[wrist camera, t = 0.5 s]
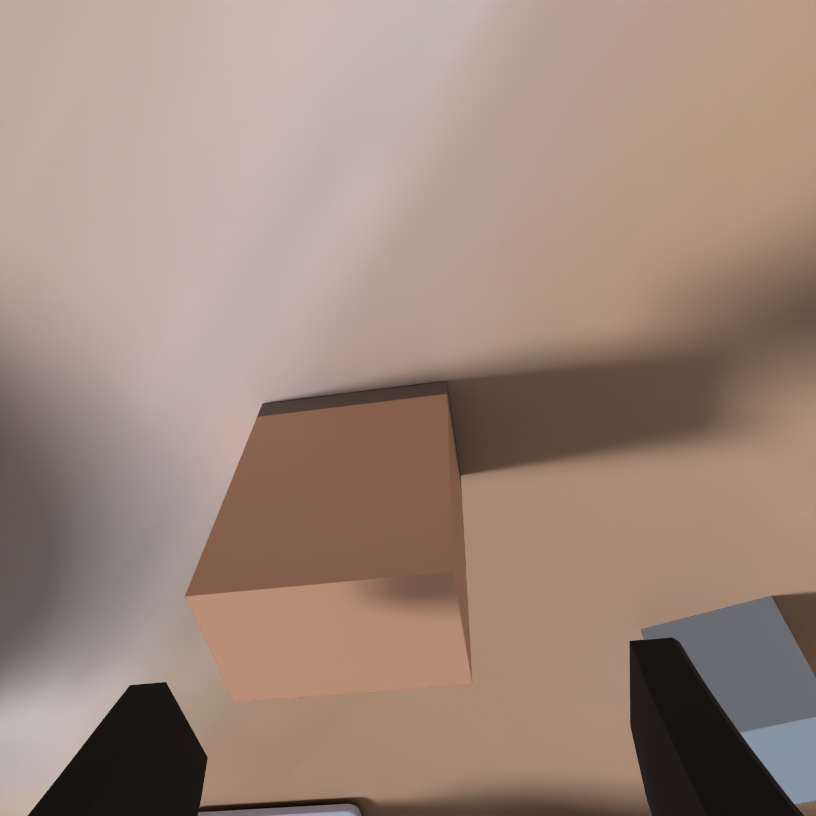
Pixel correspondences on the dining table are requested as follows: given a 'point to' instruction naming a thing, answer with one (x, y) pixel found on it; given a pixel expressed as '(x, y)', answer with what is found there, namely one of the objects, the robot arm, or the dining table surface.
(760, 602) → the slate block
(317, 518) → the tan cuboid
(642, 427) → the dining table surface
